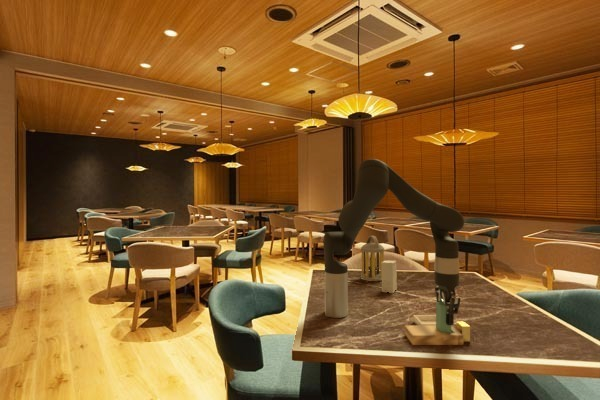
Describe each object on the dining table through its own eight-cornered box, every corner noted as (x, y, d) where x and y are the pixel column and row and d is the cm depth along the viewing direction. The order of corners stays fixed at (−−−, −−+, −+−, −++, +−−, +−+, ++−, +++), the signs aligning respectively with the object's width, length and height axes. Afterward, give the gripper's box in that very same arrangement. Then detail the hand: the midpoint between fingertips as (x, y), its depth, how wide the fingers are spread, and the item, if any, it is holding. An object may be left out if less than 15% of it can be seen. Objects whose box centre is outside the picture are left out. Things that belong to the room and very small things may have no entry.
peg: (440, 339, 105) (440, 305, 104) (435, 334, 108) (436, 302, 108) (451, 339, 105) (451, 305, 104) (446, 334, 108) (446, 302, 108)
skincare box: (393, 293, 157) (393, 263, 156) (381, 292, 160) (380, 262, 159) (397, 289, 164) (397, 260, 164) (385, 287, 167) (385, 259, 167)
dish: (422, 331, 112) (422, 324, 112) (413, 321, 121) (413, 315, 121) (450, 331, 112) (450, 324, 112) (439, 321, 121) (439, 314, 121)
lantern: (356, 277, 190) (355, 234, 190) (377, 275, 195) (376, 233, 194) (368, 283, 177) (367, 237, 177) (390, 280, 181) (390, 236, 181)
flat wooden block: (412, 344, 102) (412, 335, 102) (404, 334, 110) (404, 325, 110) (463, 344, 102) (463, 335, 102) (451, 334, 110) (451, 325, 110)
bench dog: (462, 341, 104) (462, 326, 104) (456, 336, 108) (456, 321, 108) (470, 341, 104) (469, 326, 104) (463, 336, 108) (463, 321, 108)
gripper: (469, 275, 99) (469, 331, 99) (448, 265, 113) (448, 314, 113) (444, 275, 99) (445, 331, 99) (426, 265, 113) (427, 314, 113)
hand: (446, 322), depth 106 cm, fingers closed on peg, 3 cm apart
